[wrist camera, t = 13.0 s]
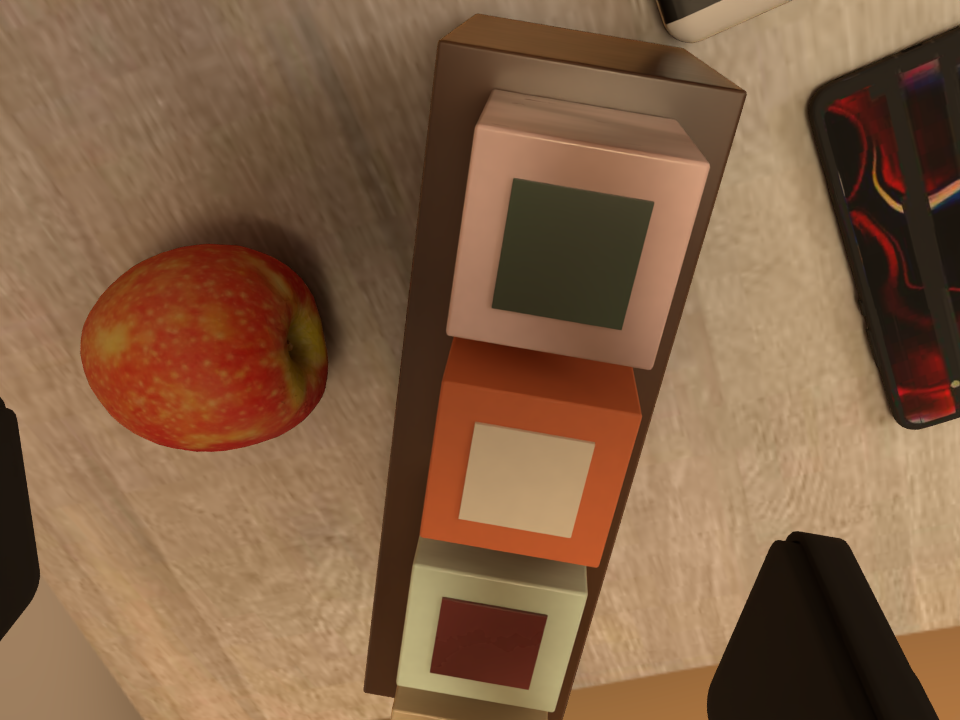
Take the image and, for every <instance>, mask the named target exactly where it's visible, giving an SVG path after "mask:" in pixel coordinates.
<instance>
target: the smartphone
mask: <svg viewBox="0 0 960 720" xmlns="http://www.w3.org/2000/svg"><path fill="white" fill-rule="evenodd" d="M809 118H810V122H811V126H812V129H813V133H814V136H815V140H816V144H817V147H818V151H819V154H820V158H821V161H822V165H823V169H824V172H825V176H826V179H827V183H828V186H829V190H830V194H831V197H832V201H833V204H834V208H835V212H836V215H837V219H838V222H839V226H840V229H841V233H842V237H843V240H844V244H845V247H846V251H847V254H848V258H849V262H850V265H851V269H852V272H853V276H854V279H855V283H856V287H857V290H858V294H859V297H860V300H858V303H859V306H860V310H861V313H862V315H863V316H865V319H866V322H867V326H868V329H866V331H867V335H868V338H869V342H870V345H871V349H872V352H873V356H874V359H875V363H876V365H877V367H879V369H880V372H881V376H882V380H883V383H884V387H885V390H886V394H887V397H888V401H889V405H890V408H891V412H892V415H893V417H894V419H895V420H896V422H897V423H898V424H899V425H901V426H902V427H904V428H907V429H913V430H918V429H923V428H926V427H930V426H933V425H936V424H940V423H943V422H946V421H950V420H953V419H956V418H959V417H960V27H958V28H955V29H953V30H951V31H948V32H946V33H944V34H941V35H939V36H937V37H934V38H932V39H930V40H927V41H925V42H923V43H921V44H918V45H916V46H913V47H911V48H909V49H906V50H904V51H902V52H900V53H897V54H894V55H892V56H890V57H887V58H885V59H883V60H880V61H878V62H876V63H873V64H871V65H869V66H866V67H864V68H862V69H859V70H857V71H855V72H852V73H850V74H847V75H845V76H843V77H840V78H838V79H836V80H833V81H831V82H829V83H827V84H825V85H824V86H822V87H821V88H820V89H819V90H817V92H816V93H815V94H814V96H813V97H812V99H811V102H810V105H809Z"/></svg>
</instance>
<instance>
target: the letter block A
mask: <svg viewBox="0 0 960 720" xmlns="http://www.w3.org/2000/svg"><path fill="white" fill-rule="evenodd" d="M391 720H548V712H547V711H541V710H536V709H530V708H524V707H519V706H513V705H507V704H501V703H496V702H490V701H484V700H478V699H473V698H467V697H461V696H455V695H450V694H444V693H438V692H432V691H427V690H421V689H415V688H409V687H404V686H399V685H397V689H396V694H395V698H394V703H393V707H392V713H391Z"/></svg>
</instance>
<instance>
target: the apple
mask: <svg viewBox="0 0 960 720" xmlns="http://www.w3.org/2000/svg"><path fill="white" fill-rule="evenodd" d="M80 354H81V359H82V364H83V368H84V372H85V375H86V377H87V380H88V383H89V385H90V387H91V389H92V390H93V392H94V393H95V395H96V396H97V398H98V399H99V401H100V402H101V403H102V405H103V406H104V407H105V408H106V410H107V411H108V412H109V414H110V415H111V416H112V417H113V418H114V419H116V420H117V421H118V422H119V423H120V424H122V425H123V426H124V427H126V428H127V429H129V430H130V431H131V432H133V433H135V434H137V435H139V436H141V437H143V438H145V439H147V440H149V441H152V442H154V443H156V444H159V445H163V446H167V447H171V448H176V449H183V450H189V451H196V452H200V451H206V452H214V451H226V450H232V449H237V448H242V447H246V446H250V445H254V444H258V443H260V442H263V441H266V440H269V439H272V438H275V437H278V436H280V435H282V434H284V433H285V432H287V431H289V430H291V429H292V428H294V427H295V426H296V425H298V424H299V423H300V422H302V421H303V420H304V419H305V418H306V417H307V416H308V415H309V414H310V413H311V412H312V411H313V409H314V408H315V407H316V405H317V404H318V403H319V401H320V399H321V398H322V396H323V393H324V391H325V388H326V387H325V386H326V381H327V374H328V356H327V348H326V343H325V339H324V334H323V329H322V322H321V318H320V316H319V313H318V310H317V306H316V304H315V300H314V297H313V295H312V294H311V292H310V290H309V289H308V287H307V286H306V285H305V283H304V281H303V280H302V278H301V277H300V276H298V275H297V274H296V272H294V271H293V270H292V269H291V268H289V267H288V266H287V265H285V264H284V263H282V262H280V261H279V260H277V259H275V258H273V257H271V256H269V255H267V254H265V253H262V252H259V251H256V250H253V249H249V248H246V247H242V246H238V245H220V244H200V245H192V246H185V247H180V248H176V249H173V250H170V251H166V252H163V253H160V254H158V255H156V256H153V257H151V258H149V259H146V260H144V261H142V262H141V263H139V264H137V265H135V266H134V267H132V268H131V269H129V270H128V271H127V272H125V273H124V274H123V275H122V276H120V277H119V278H118V279H117V280H116V281H115V282H114V283H113V284H111V285H110V286H109V287H108V289H107V290H106V291H105V292H104V293H103V294H102V295H101V296H100V298H99V299H98V301H97V302H96V304H95V305H94V307H93V308H92V310H91V311H90V313H89V315H88V317H87V319H86V321H85V323H84V326H83V330H82V336H81V351H80Z"/></svg>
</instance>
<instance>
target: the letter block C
mask: <svg viewBox="0 0 960 720" xmlns="http://www.w3.org/2000/svg"><path fill="white" fill-rule="evenodd" d="M709 169H710V164H709V162H708V161H707V160H706V158H705V157H704V156H703V154H702V153H701V152H700V150H699V149H698V148H697V146H696V145H695V144H694V142H693V141H692V140H691V139H690V137H689V136H688V135H687V133H686V132H685V131H684V129H683V128H682V127H681V125H680V124H679V123H678V121H676V120H674V119H668V118H662V117H656V116H650V115H644V114H638V113H632V112H626V111H620V110H615V109H609V108H603V107H597V106H591V105H585V104H579V103H573V102H567V101H561V100H555V99H549V98H544V97H538V96H532V95H526V94H520V93H514V92H508V91H502V90H496V89H495V90H492V92H491V94H490V96H489V98H488V100H487V103H486V105H485V107H484V109H483V111H482V113H481V115H480V117H479V120H478V122H477V124H476V126H475V129H474V136H473V143H472V150H471V157H470V164H469V171H468V179H467V186H466V193H465V200H464V207H463V214H462V221H461V228H460V235H459V242H458V249H457V256H456V263H455V270H454V277H453V284H452V291H451V298H450V305H449V312H448V319H447V326H446V333H447V335H449V336H453V337H459V338H465V339H471V340H477V341H482V342H488V343H494V344H500V345H506V346H512V347H517V348H523V349H529V350H535V351H541V352H547V353H553V354H558V355H564V356H570V357H576V358H582V359H588V360H593V361H599V362H605V363H611V364H617V365H623V366H629V367H634V368H640V369H646V370H651V369H652V367H653V365H654V362H655V358H656V355H657V351H658V348H659V344H660V341H661V337H662V334H663V330H664V327H665V323H666V320H667V316H668V313H669V309H670V306H671V302H672V299H673V295H674V292H675V288H676V285H677V281H678V278H679V274H680V271H681V267H682V264H683V260H684V257H685V253H686V250H687V246H688V243H689V239H690V236H691V232H692V229H693V225H694V222H695V218H696V215H697V211H698V208H699V204H700V201H701V197H702V194H703V190H704V187H705V183H706V180H707V176H708V173H709Z"/></svg>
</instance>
